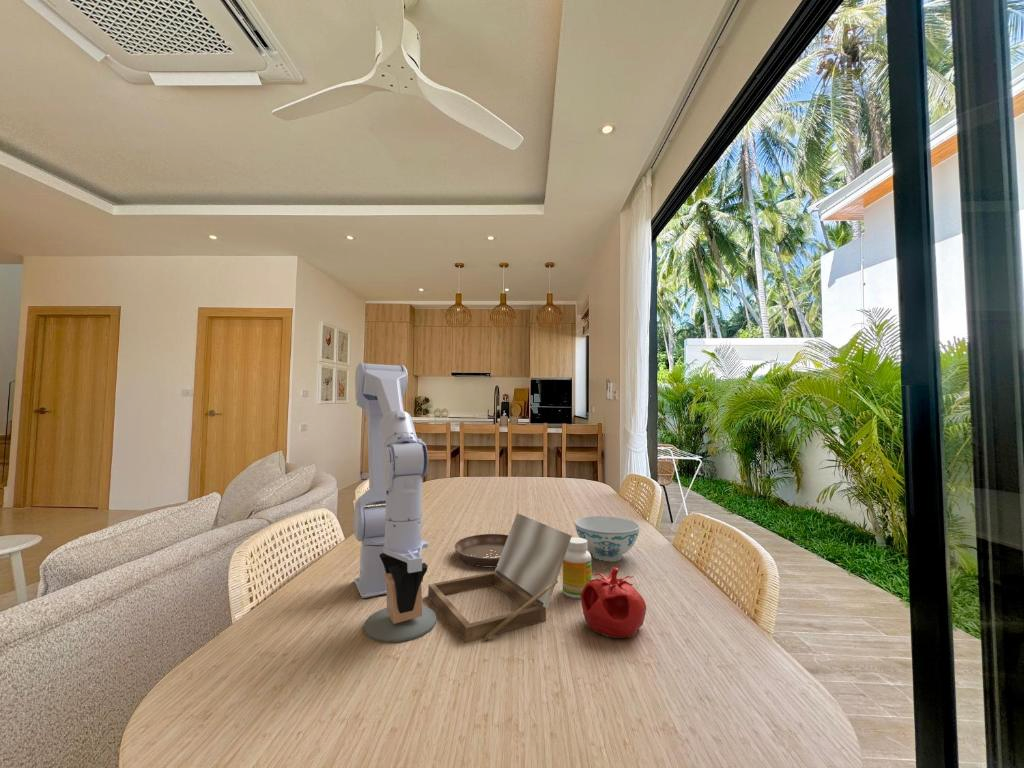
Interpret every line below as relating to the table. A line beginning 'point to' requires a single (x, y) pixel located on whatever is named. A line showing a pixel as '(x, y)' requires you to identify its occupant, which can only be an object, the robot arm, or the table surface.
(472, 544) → the plant saucer
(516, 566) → the cold frame
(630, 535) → the chinaware
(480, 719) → the table surface
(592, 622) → the hollow red tomato
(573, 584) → the supplement bottle
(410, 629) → the mat
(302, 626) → the table surface
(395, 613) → the orange block with dome
